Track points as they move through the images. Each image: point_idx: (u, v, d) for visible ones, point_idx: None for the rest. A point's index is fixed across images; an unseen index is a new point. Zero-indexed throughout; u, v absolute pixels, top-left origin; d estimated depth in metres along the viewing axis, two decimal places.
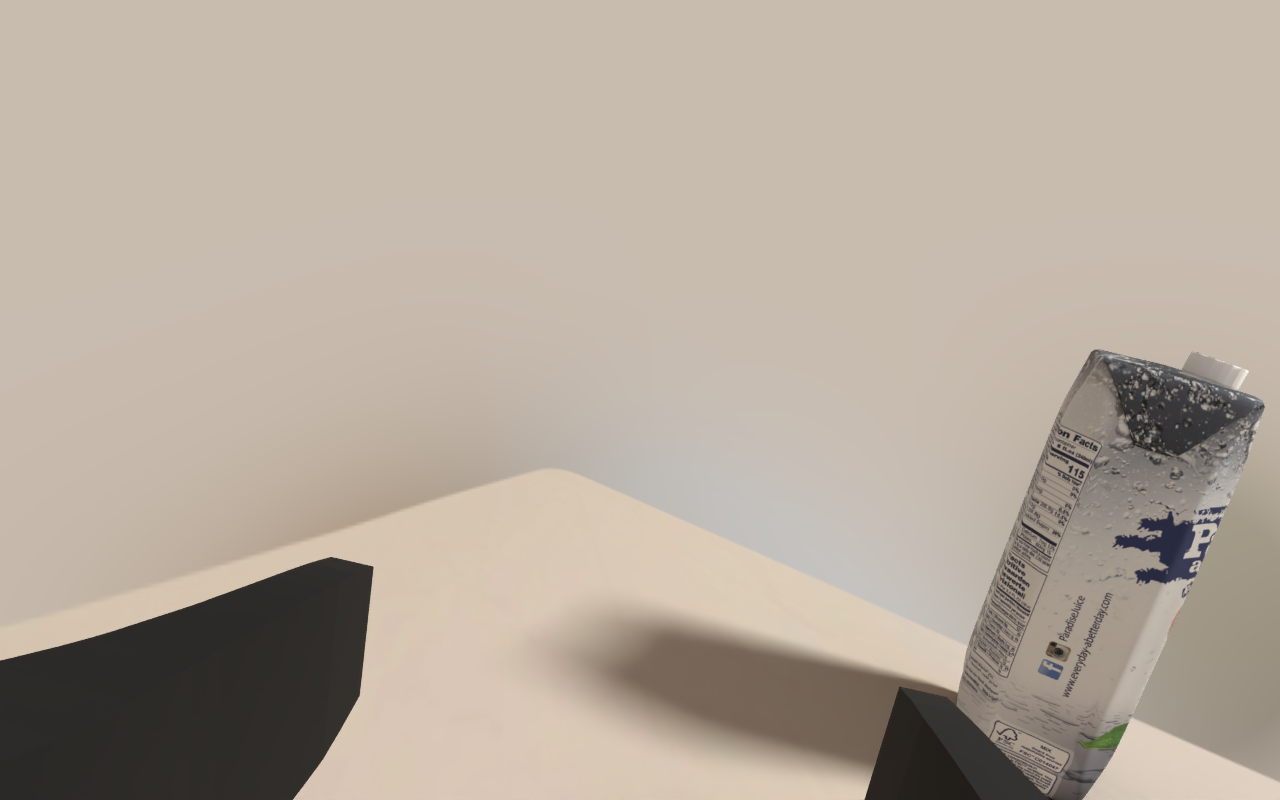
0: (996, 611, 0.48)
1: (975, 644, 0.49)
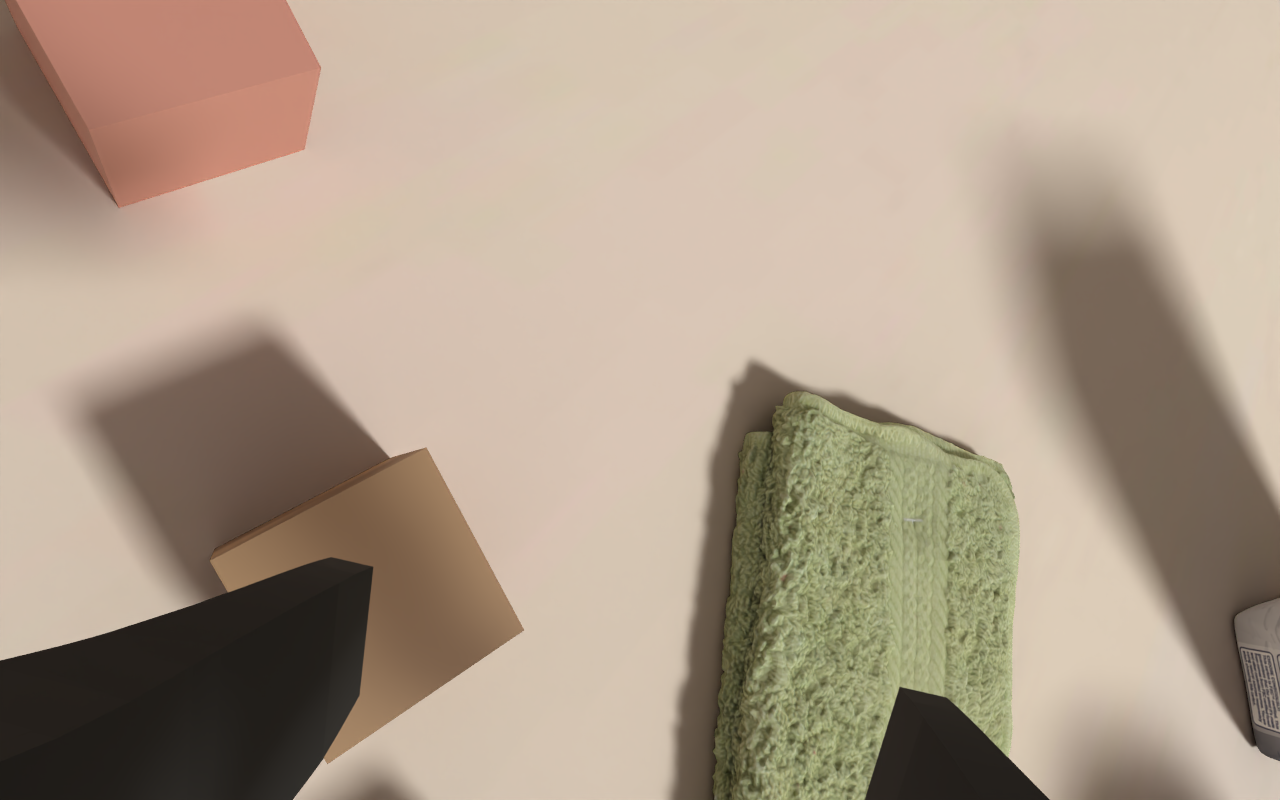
0: None
1: None
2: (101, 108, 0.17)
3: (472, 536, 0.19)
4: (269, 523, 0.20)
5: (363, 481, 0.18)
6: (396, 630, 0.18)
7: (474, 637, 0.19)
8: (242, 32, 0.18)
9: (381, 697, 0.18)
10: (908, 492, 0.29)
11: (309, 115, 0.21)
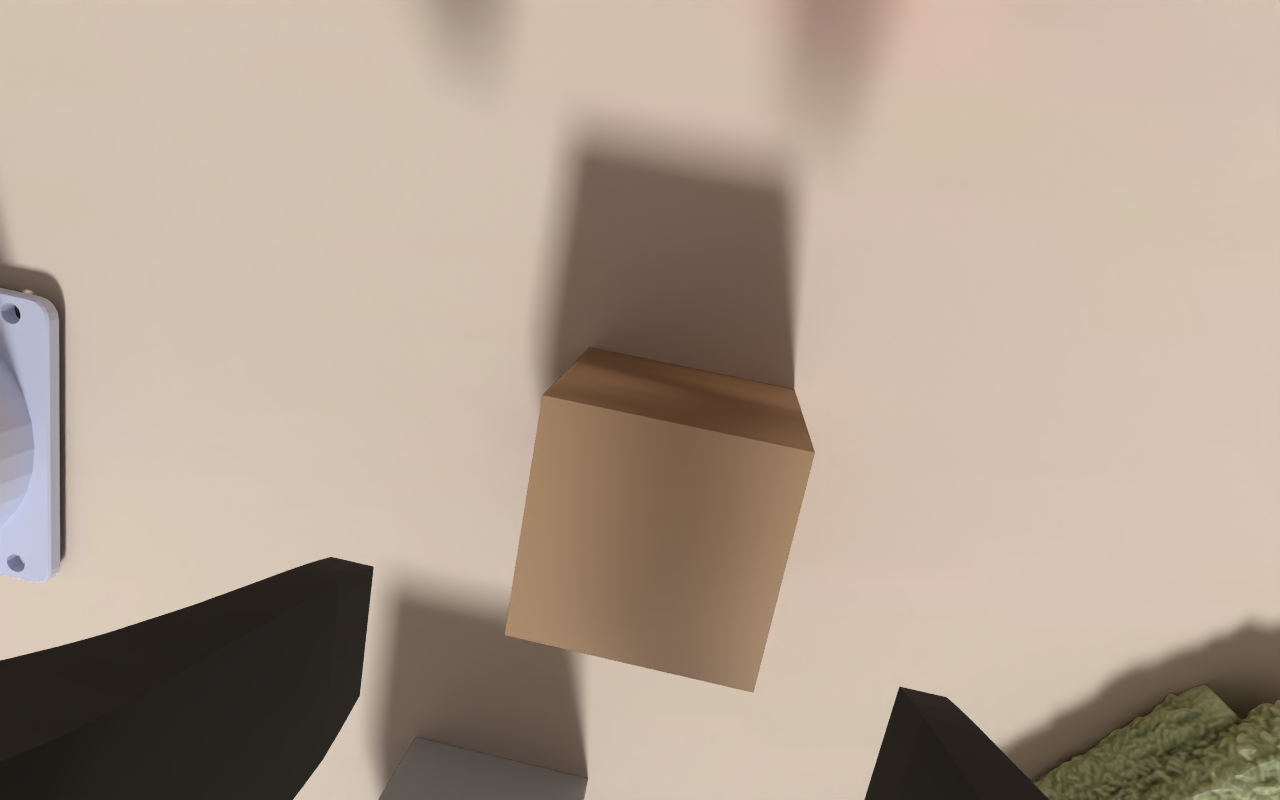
0: None
1: None
2: None
3: (782, 571, 0.15)
4: (636, 374, 0.17)
5: (726, 434, 0.14)
6: (643, 588, 0.15)
7: (703, 656, 0.15)
8: None
9: (585, 627, 0.16)
10: None
11: None
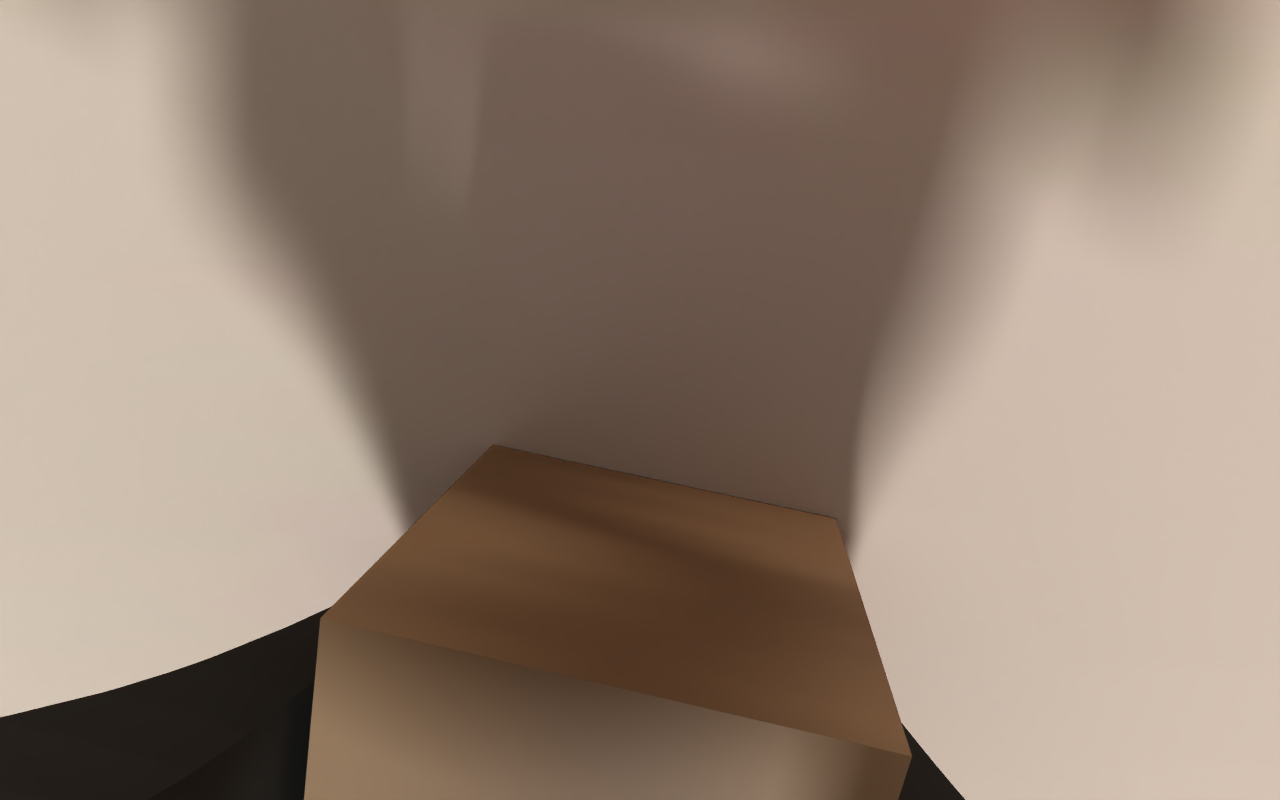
0: None
1: None
2: None
3: None
4: (556, 515, 0.10)
5: (716, 710, 0.07)
6: None
7: None
8: None
9: None
10: None
11: None
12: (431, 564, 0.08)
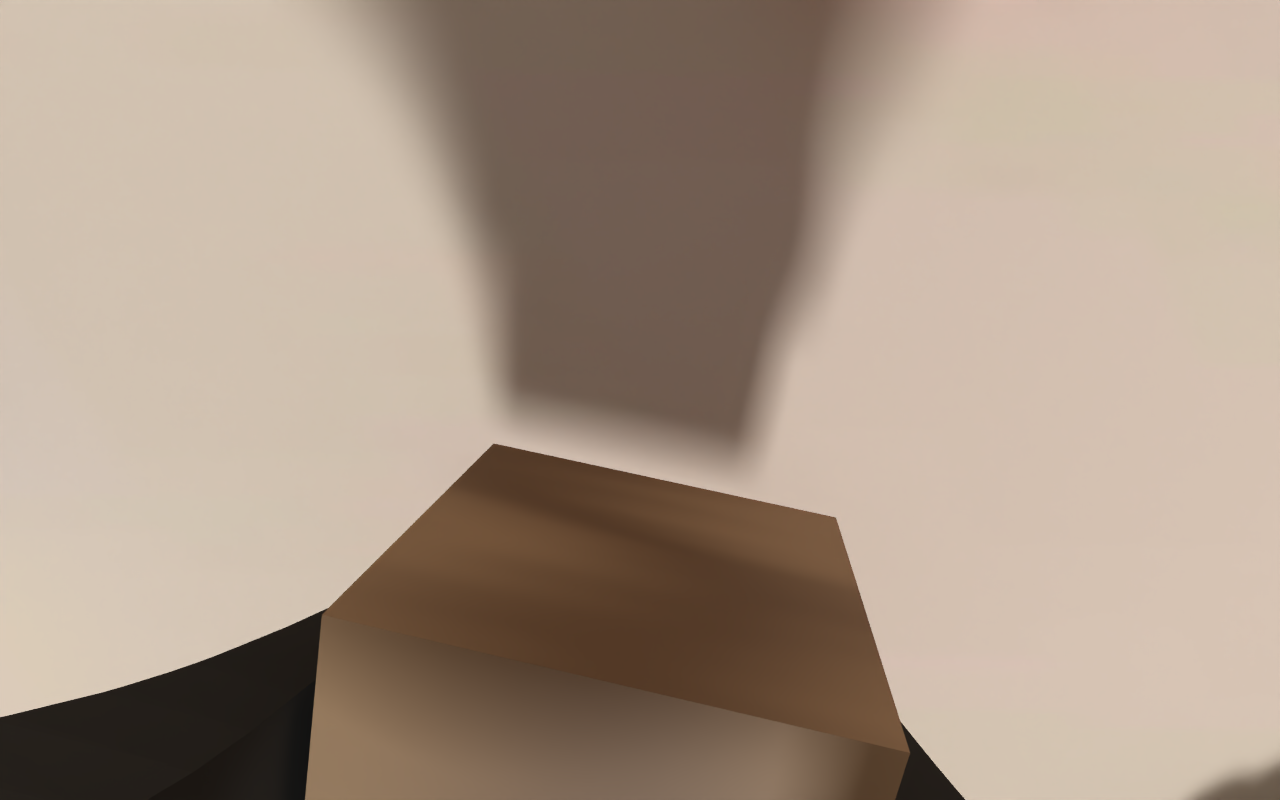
0: None
1: None
2: None
3: None
4: (557, 513, 0.10)
5: (715, 706, 0.07)
6: None
7: None
8: None
9: None
10: None
11: None
12: (432, 562, 0.08)
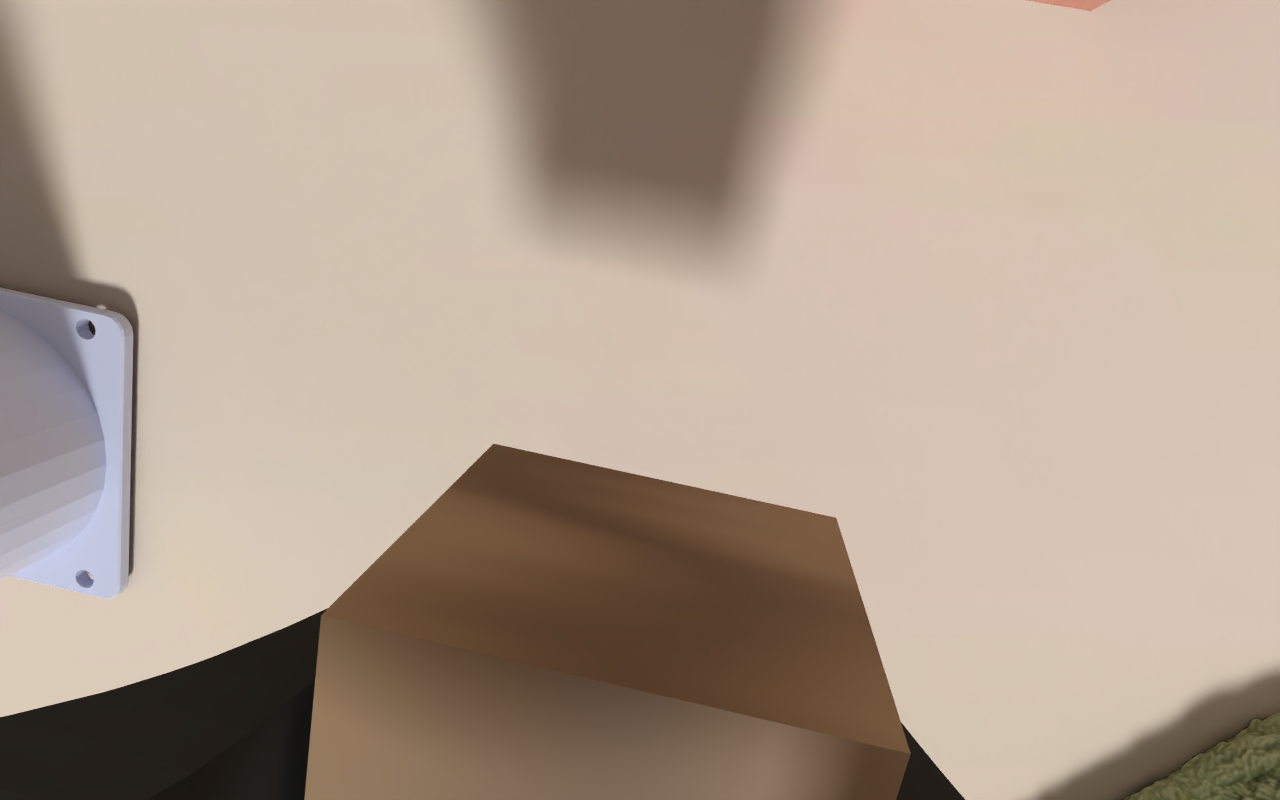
0: None
1: None
2: None
3: None
4: (557, 513, 0.10)
5: (715, 707, 0.07)
6: None
7: None
8: None
9: None
10: None
11: None
12: (432, 562, 0.08)
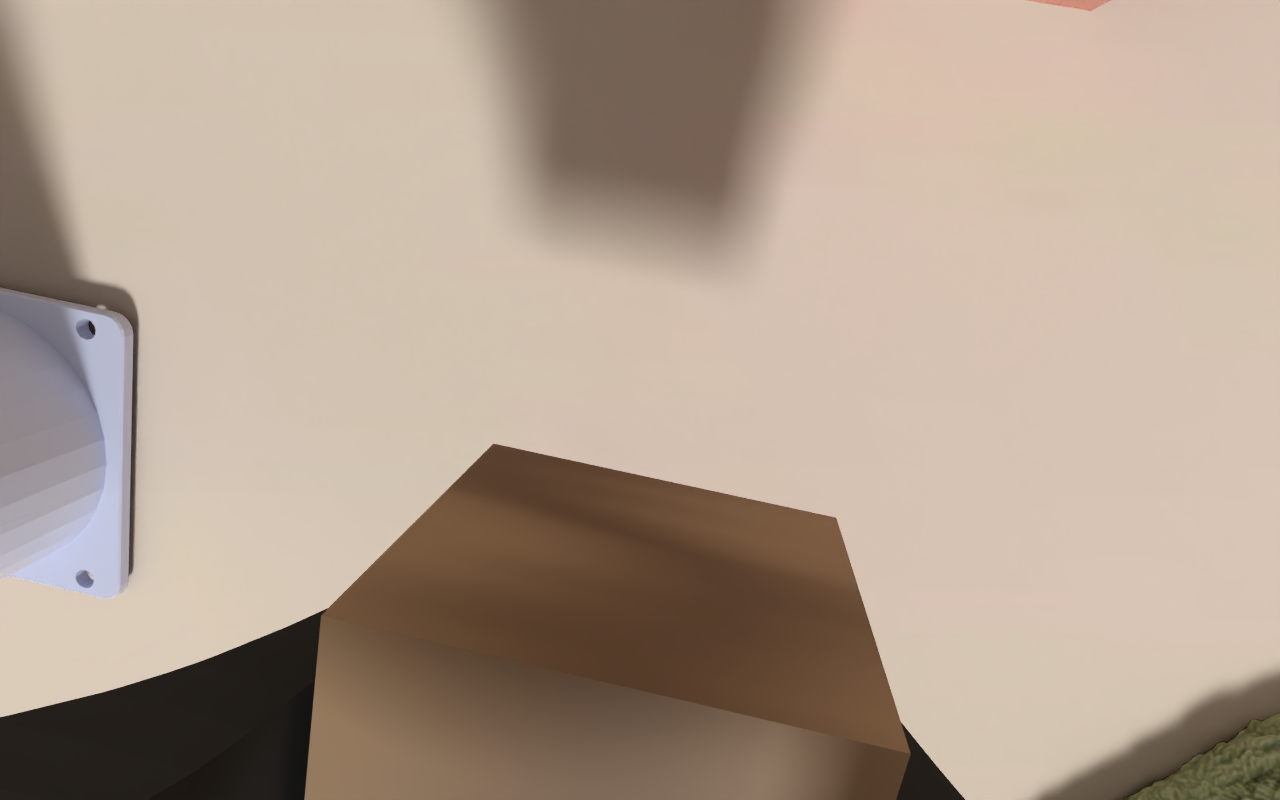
0: None
1: None
2: None
3: None
4: (557, 513, 0.10)
5: (715, 707, 0.07)
6: None
7: None
8: None
9: None
10: None
11: None
12: (432, 562, 0.08)
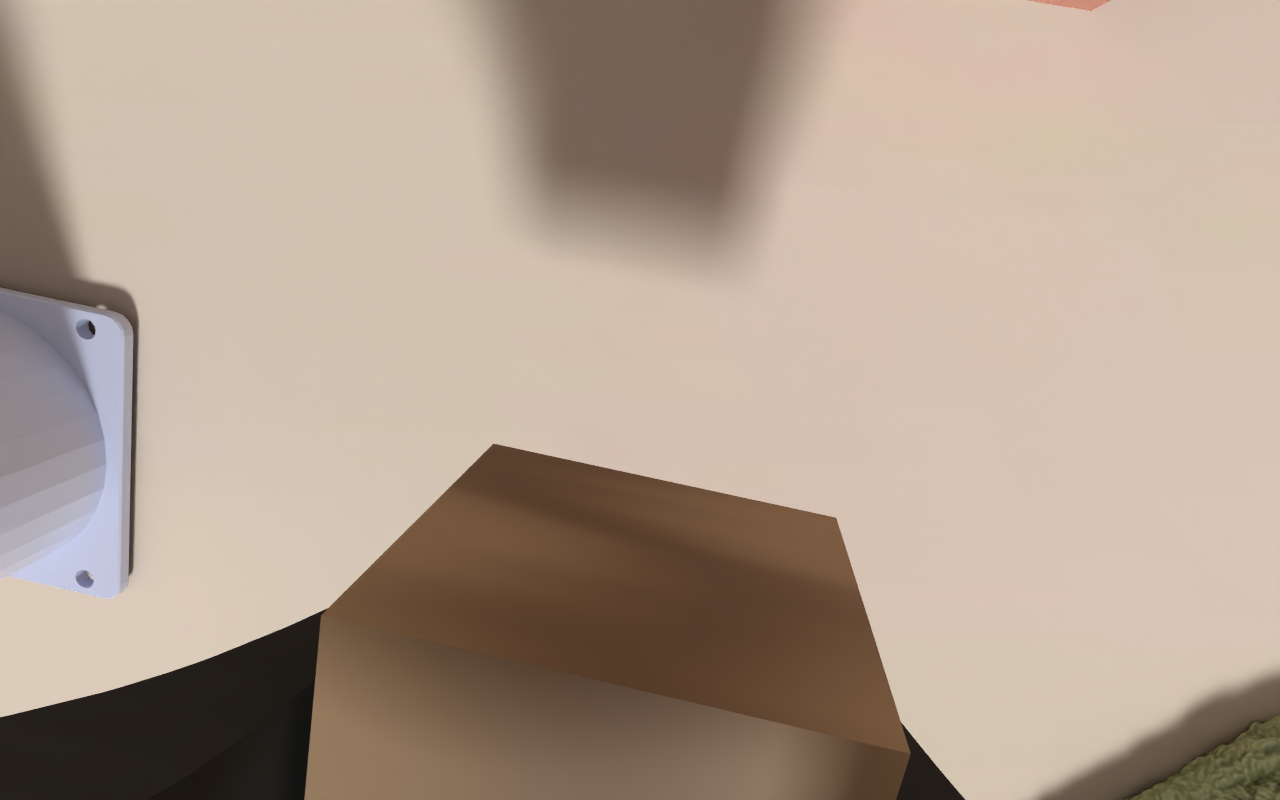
0: None
1: None
2: None
3: None
4: (557, 513, 0.10)
5: (715, 707, 0.07)
6: None
7: None
8: None
9: None
10: None
11: None
12: (432, 562, 0.08)
